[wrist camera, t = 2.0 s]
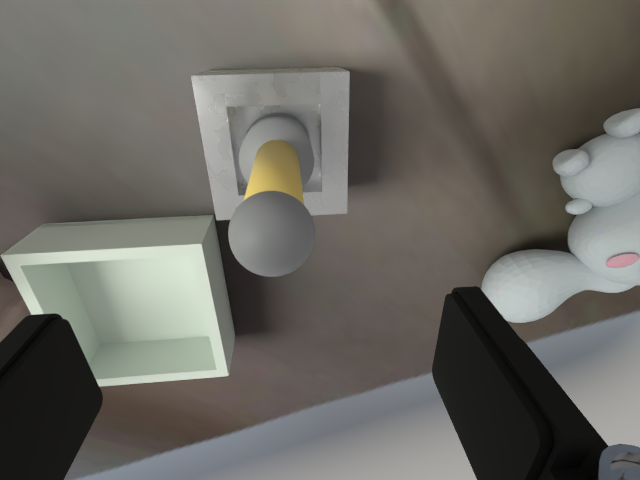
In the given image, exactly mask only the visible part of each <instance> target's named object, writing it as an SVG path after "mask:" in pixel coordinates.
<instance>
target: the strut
mask: <svg viewBox="0 0 640 480" xmlns="http://www.w3.org/2000/svg"><path fill="white" fill-rule="evenodd" d="M239 165H240V169H241V172H242V175H243V177H244V178H245V180H246V181H247V182H248V186H247V190H246V194H245V198H244V201H243V202H242V203H241V204H240V205H239V206H238V207H237V209H236V210H235V212H234V213H233V215H232V218H231V220H230V224H229V230H228V237H229V244H230V247H231V250H232V252H233V254H234V256H235V258H236V259H237V260H238V261H239V263H240V264H241V265H242V266H244V267H245V268H246V269H247V270H249V271H251V272H253V273H255V274H258V275H261V276H267V277H277V276H282V275H286V274H289V273H291V272H293V271H295V270H296V269H298V268H299V267H300V266H301V265H302V264H303V263H304V262H305V261H306V260H307V258H308V257H309V255H310V253H311V251H312V249H313V246H314V241H315V226H314V222H313V219H312V217H311V214H310V213H309V211H308V209H307V208H306V207H305V206H304V198H303V190H302V188H303V187H304V186H305V185H306V183H307V182H308V181H309V179H310V177H311V175H312V172H313V168H314V154H313V150H312V146H311V142H310V139H309V136H308V133H307V131H306V129H305V127H304V126H303V125H302V124H301V123H300V122H299V121H298V120H297V119H296V118H294V117H292V116H290V115H288V114H285V113H277V112H275V113H269V114H265V115H263V116H261V117H259V118H258V119H257V120H255V121H254V122H253V123H252V125H251V126H250V128H249V129H248V131H247V134H246V136H245V138H244V141H243V143H242V146H241V148H240V153H239Z"/></svg>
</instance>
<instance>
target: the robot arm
mask: <svg viewBox="0 0 640 480" xmlns="http://www.w3.org/2000/svg"><path fill="white" fill-rule="evenodd" d="M432 373H433V378H434V381H435V384H436V386H437V389H438V391H439V393H440V395H441V398H442V400H443V402H444V405H445V407H446V409H447V411H448V414H449V416H450V418H451V420H452V423H453V425H454V428H455V430H456V432H457V434H458V437H459V439H460V441H461V443H462V446H463V448H464V450H465V453H466V455H467V457H468V460H469V462H470V464H471V466H472V469H473V471H474V473H475V475H476V478H477V480H640V448H639V447H637V446H632V445H625V444H617V445H612V446H608V445H607V444H606V443H605V441H604V440H603V439H602V438H601V436H600V435H599V434H598V433H597V432H596V430H595V429H594V428H593V427H592V425H591V424H590V423H589V422H588V420H587V419H586V418H585V417H584V416H583V414H582V413H581V412H580V410H579V409H578V408H577V407H576V405H575V404H574V403H573V402H572V400H571V399H570V398H569V397H568V395H567V394H566V393H565V392H564V390H563V389H562V388H561V387H560V385H559V384H558V383H557V382H556V380H555V379H554V378H553V377H552V375H551V374H550V373H549V372H548V370H547V369H546V368H545V367H544V365H543V364H542V363H541V362H540V360H539V359H538V358H537V357H536V355H535V354H534V353H533V352H532V350H531V349H530V348H529V347H528V345H527V344H526V343H525V342H524V341H523V340H522V339H521V338H519V336H518V335H517V334H516V333H515V331H514V330H513V329H512V328H511V326H510V325H509V324H508V323H507V321H506V320H505V319H504V318H503V316H502V315H501V314H500V312H499V311H498V310H497V309H496V307H495V306H494V305H493V304H492V302H491V301H490V300H489V299H488V297H487V296H486V295H485V294H484V292H483V291H482V290H481V289H480V288H479V287H476V286H474V287H459V288H454V289H453V290H452V293H451V294H447V295H446V297H445V302H444V307H443V313H442V318H441V323H440V329H439V334H438V340H437V345H436V350H435V356H434V361H433V367H432ZM102 400H103V397H102V392H101V390H100V388H99V385H98V383H97V381H96V379H95V377H94V375H93V372H92V370H91V368H90V366H89V364H88V362H87V359H86V357H85V355H84V353H83V351H82V349H81V346H80V344H79V342H78V340H77V338H76V335H75V333H74V331H73V329H72V327H71V325H70V323H69V321H68V320H66V319H63V318H62V317H61V316H60V315H59V314H55V313H52V314H36V315H29V316H26V317H25V318H24V319H23V320H22V321H21V322H20V323H19V324H18V325H17V326H16V327H15V328H14V329H13V330H12V331H11V332H10V333H9V334H8V335H7V336H6V337H5V338H4V339H3V340H2V341H1V342H0V480H64V478H65V476H66V474H67V472H68V470H69V468H70V466H71V464H72V462H73V460H74V458H75V457H76V455H77V453H78V451H79V449H80V447H81V445H82V443H83V441H84V439H85V437H86V435H87V433H88V432H89V430H90V428H91V426H92V424H93V422H94V420H95V418H96V416H97V414H98V412H99V410H100V408H101V405H102Z"/></svg>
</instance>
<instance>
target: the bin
mask: <svg viewBox="0 0 640 480" xmlns="http://www.w3.org/2000/svg"><path fill="white" fill-rule="evenodd" d="M0 256H1V258H2V260H3V261H4V263H5V265H6V267H7V269H8V271H9V273H10V275H11V277H12V279H13V280H14V282H15V284H16V286H17V288H18V290H19V292H20V294H21V296H22V297H23V299H24V301H25V303H26V305H27V307H28V309H29V311H30V313H31V315H36V314H52V313H55V314H59V315H60V316H61V317H62V318H63V319H66V320H68V321H69V323H70V325H71V327H72V329H73V331H74V333H75V335H76V338H77V340H78V342H79V344H80V346H81V349H82V351H83V353H84V355H85V357H86V359H87V362H88V364H89V366H90V368H91V370H92V372H93V375H94V377H95V379H96V381H97V383H98V385H99V386H112V385H124V384H136V383H149V382H161V381H173V380H186V379H198V378H210V377H223V376H229V371H230V365H231V359H232V354H233V348H234V342H235V331H234V325H233V320H232V314H231V308H230V303H229V297H228V292H227V286H226V281H225V275H224V269H223V264H222V258H221V253H220V247H219V241H218V236H217V230H216V225H215V219H214V215H198V216H179V217H160V218H141V219H122V220H103V221H83V222H64V223H45V224H42V225H41V226H39V227H38V228H37V229H35V230H34V231H33V232H31V233H30V234H29V235H27V236H26V237H24V238H23V239H22V240H20V241H19V242H18V243H16V244H15V245H14V246H12V247H11V248H10V249H8V250H7V251H6V252H4V253H3V254H1V255H0Z"/></svg>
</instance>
